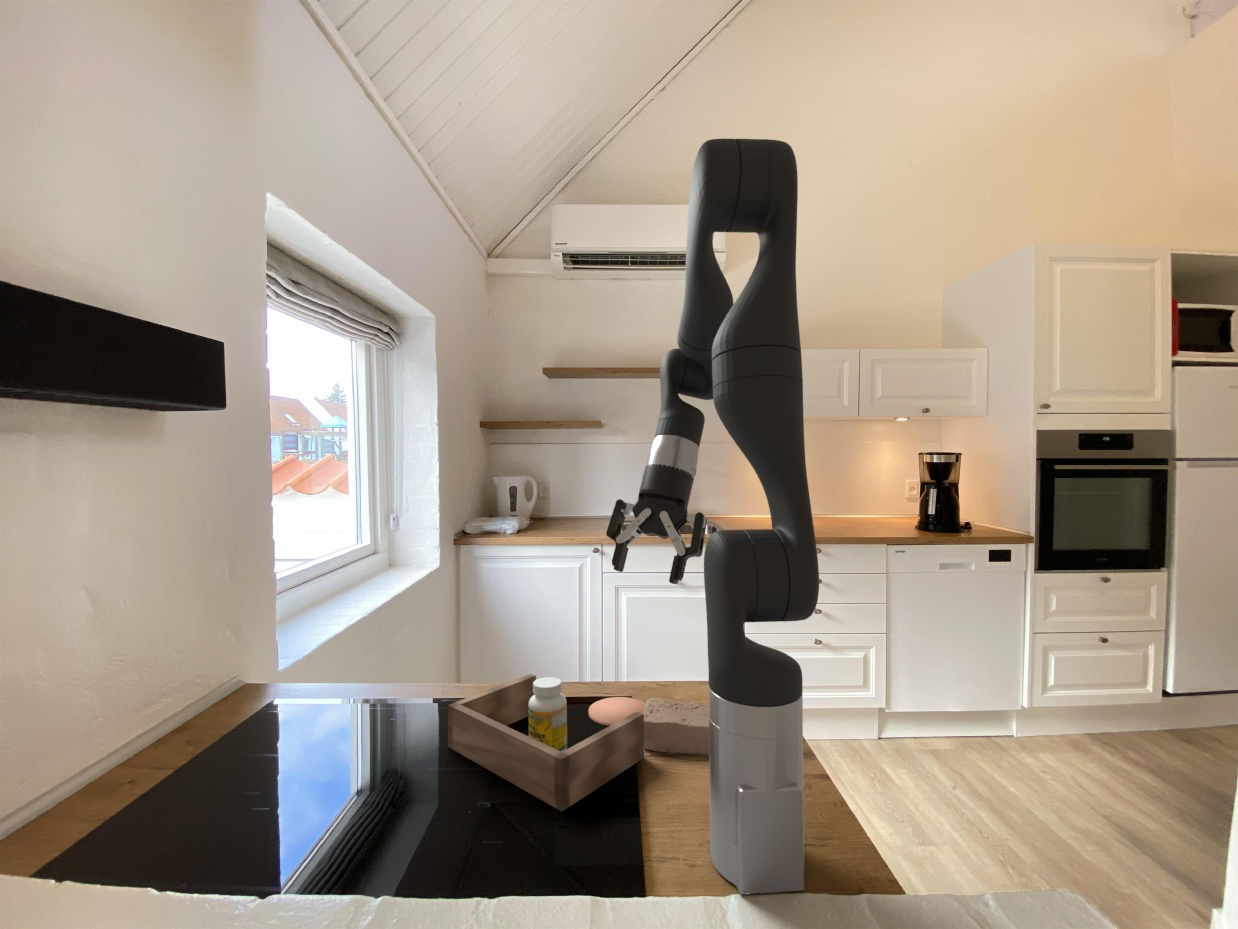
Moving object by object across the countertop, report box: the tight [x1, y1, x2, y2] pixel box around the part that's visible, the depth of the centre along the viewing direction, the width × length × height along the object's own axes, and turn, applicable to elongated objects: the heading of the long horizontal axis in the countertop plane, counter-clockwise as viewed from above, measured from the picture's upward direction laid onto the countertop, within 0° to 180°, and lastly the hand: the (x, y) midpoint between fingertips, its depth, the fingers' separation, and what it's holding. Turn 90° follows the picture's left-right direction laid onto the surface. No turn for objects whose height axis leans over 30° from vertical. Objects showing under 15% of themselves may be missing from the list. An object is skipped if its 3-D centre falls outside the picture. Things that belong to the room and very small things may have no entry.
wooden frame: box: [447, 673, 645, 812], centre depth 77 cm, size 16×23×6 cm, turn 50°
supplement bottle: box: [528, 676, 568, 752], centre depth 78 cm, size 5×5×10 cm
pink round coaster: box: [588, 696, 646, 727], centre depth 90 cm, size 10×10×1 cm
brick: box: [644, 697, 709, 756], centre depth 80 cm, size 17×8×5 cm, turn 82°
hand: (645, 577), depth 79 cm, fingers open, 8 cm apart
